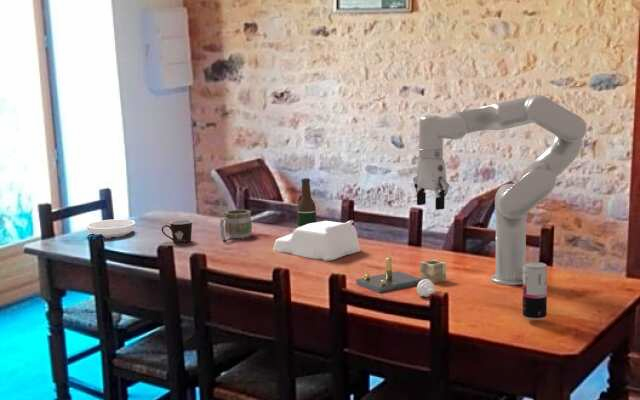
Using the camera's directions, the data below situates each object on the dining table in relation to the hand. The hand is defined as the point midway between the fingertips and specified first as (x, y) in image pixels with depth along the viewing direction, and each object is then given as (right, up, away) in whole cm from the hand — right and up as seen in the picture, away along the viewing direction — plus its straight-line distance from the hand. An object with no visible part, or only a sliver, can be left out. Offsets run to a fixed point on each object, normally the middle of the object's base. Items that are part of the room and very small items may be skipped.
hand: (430, 206), depth 294 cm
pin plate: (-13, -25, +1) cm, 28 cm away
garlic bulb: (-3, -28, -15) cm, 32 cm away
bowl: (-122, -15, +82) cm, 148 cm away
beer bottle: (-41, -13, +77) cm, 88 cm away
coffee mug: (-91, -16, +67) cm, 114 cm away
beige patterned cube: (+1, -24, +4) cm, 25 cm away
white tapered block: (-37, -18, +47) cm, 62 cm away
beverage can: (+25, -31, -37) cm, 54 cm away
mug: (-70, -15, +72) cm, 101 cm away
